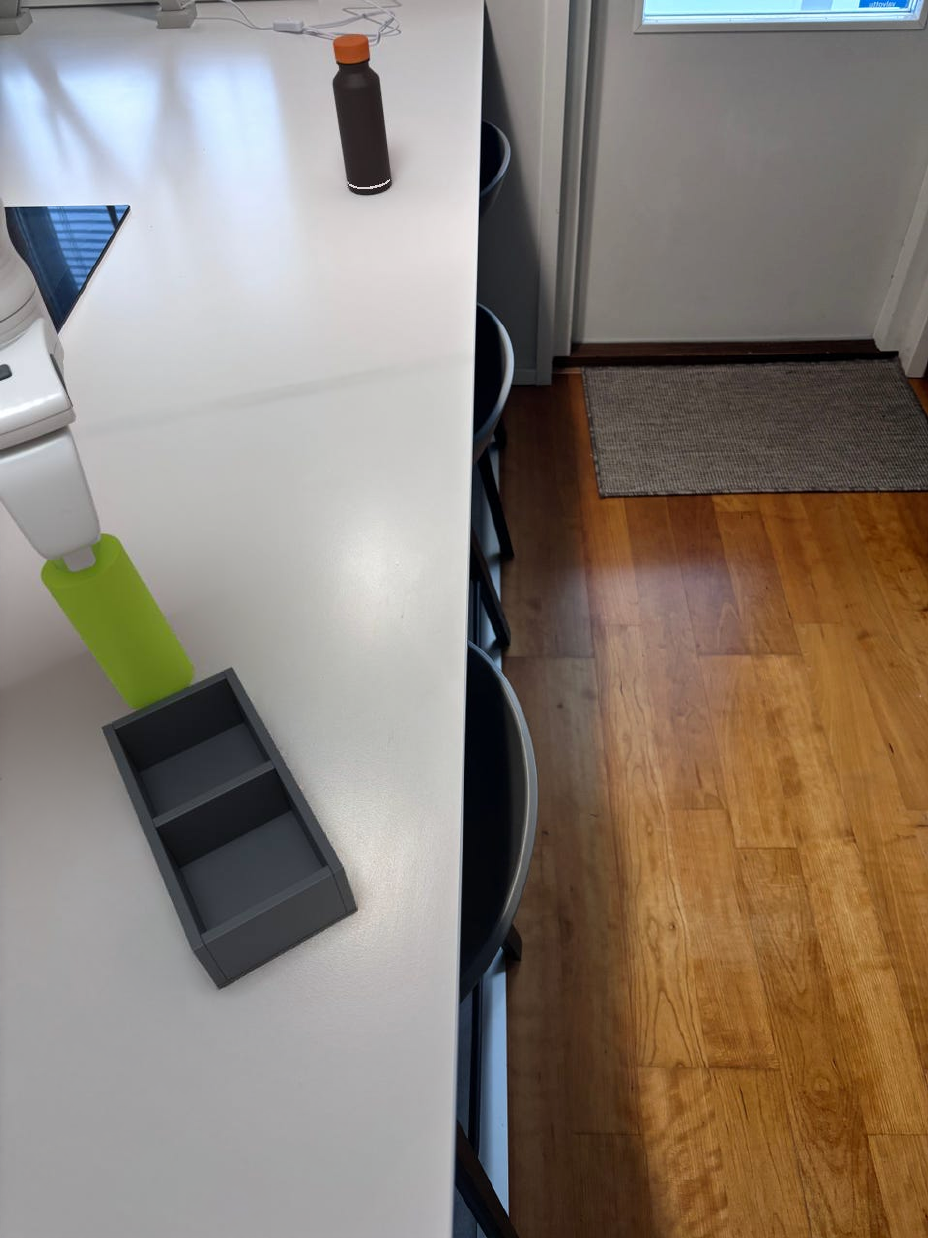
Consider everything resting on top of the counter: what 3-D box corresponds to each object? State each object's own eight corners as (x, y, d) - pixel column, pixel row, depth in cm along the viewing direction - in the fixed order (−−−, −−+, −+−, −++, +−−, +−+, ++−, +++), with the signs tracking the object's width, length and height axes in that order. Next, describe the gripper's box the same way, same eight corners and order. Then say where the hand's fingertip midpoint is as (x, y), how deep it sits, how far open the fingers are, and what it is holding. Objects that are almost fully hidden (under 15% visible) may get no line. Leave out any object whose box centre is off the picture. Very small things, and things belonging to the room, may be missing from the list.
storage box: (218, 990, 64) (192, 951, 59) (129, 773, 76) (100, 727, 72) (358, 910, 67) (344, 868, 63) (250, 714, 80) (231, 666, 75)
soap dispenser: (166, 723, 72) (31, 518, 59) (109, 698, 76) (-31, 498, 63) (217, 670, 76) (100, 464, 62) (160, 648, 79) (37, 448, 66)
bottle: (344, 180, 147) (322, 35, 132) (387, 172, 148) (370, 28, 133) (351, 198, 143) (329, 51, 128) (395, 191, 144) (378, 43, 129)
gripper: (-106, 288, 61) (-15, 460, 71) (-46, 454, 48) (54, 633, 59) (-6, 259, 63) (69, 431, 73) (76, 412, 50) (152, 592, 61)
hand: (63, 522), depth 66 cm, fingers open, 8 cm apart
